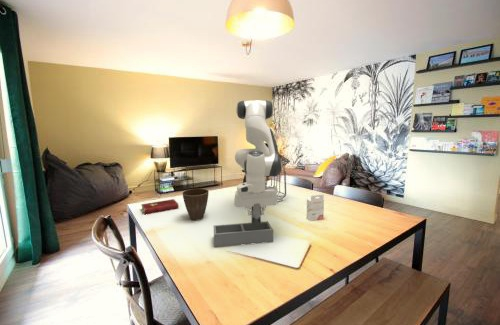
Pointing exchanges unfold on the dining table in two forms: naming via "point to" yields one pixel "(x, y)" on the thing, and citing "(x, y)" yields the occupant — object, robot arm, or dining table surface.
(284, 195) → the geometric lantern
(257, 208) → the metal cell
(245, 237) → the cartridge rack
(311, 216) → the ink cartridge box
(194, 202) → the plant pot
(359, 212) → the dining table surface
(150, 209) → the hardcover book
